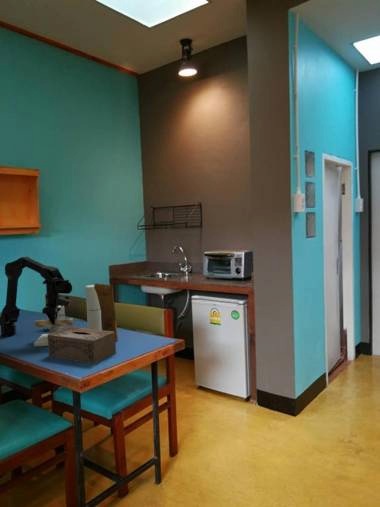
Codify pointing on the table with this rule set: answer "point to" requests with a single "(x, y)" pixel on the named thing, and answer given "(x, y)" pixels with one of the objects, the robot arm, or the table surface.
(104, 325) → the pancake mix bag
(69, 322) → the oak bar
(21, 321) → the table surface
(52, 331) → the fulcrum stand
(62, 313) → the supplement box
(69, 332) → the tissue box cover
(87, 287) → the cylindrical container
